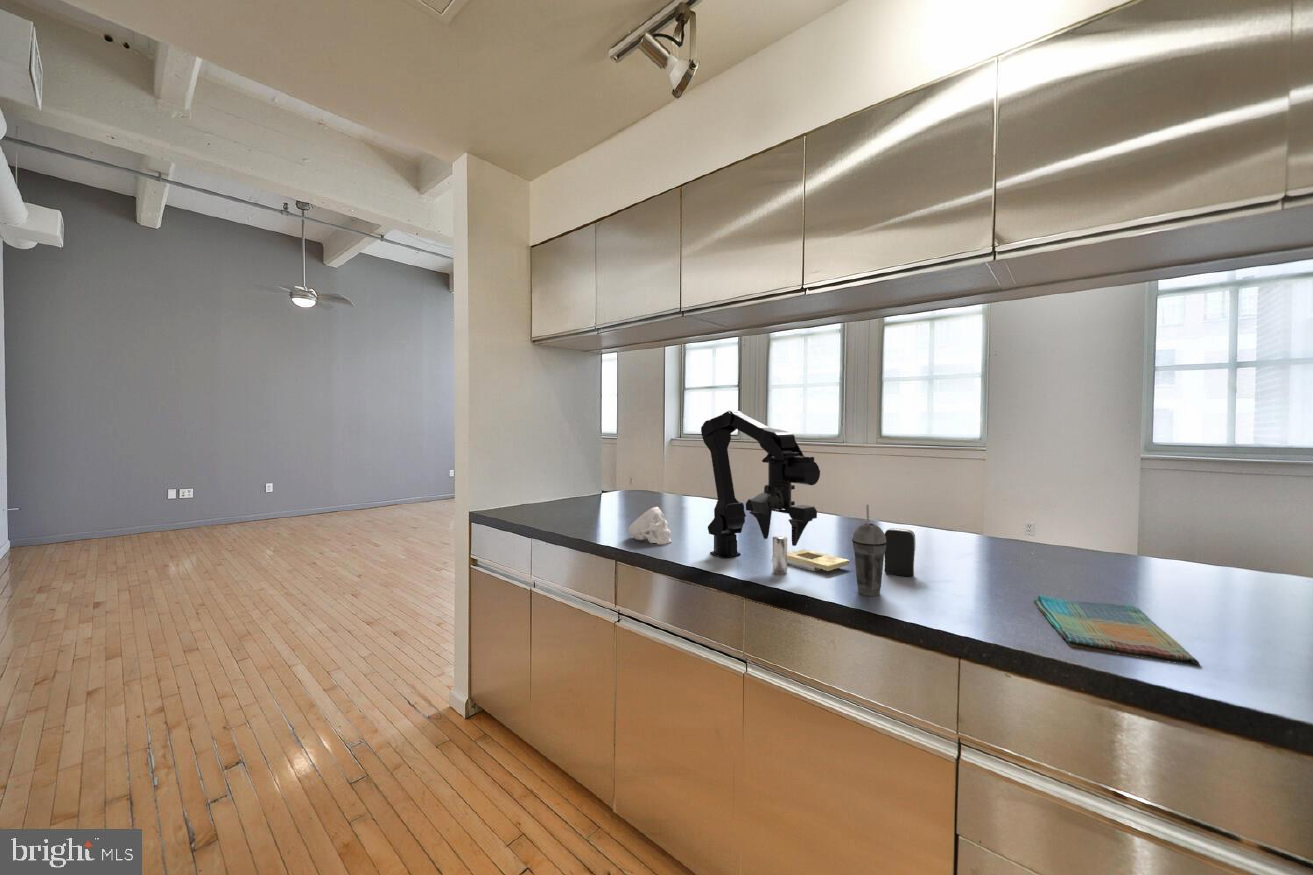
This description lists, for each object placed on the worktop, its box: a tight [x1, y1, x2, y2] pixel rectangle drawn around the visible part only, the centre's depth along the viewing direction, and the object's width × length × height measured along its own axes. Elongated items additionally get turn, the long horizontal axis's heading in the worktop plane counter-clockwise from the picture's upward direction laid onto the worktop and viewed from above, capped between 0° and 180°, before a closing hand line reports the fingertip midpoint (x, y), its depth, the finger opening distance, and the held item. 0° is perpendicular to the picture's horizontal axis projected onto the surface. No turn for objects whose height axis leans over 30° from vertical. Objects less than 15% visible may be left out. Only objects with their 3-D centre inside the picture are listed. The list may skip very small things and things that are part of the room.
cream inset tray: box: [771, 548, 850, 573], centre depth 135 cm, size 18×9×2 cm, turn 36°
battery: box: [883, 527, 916, 578], centre depth 126 cm, size 7×4×11 cm, turn 55°
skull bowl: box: [627, 506, 672, 545], centre depth 163 cm, size 10×14×12 cm
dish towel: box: [1033, 594, 1201, 667], centre depth 92 cm, size 17×23×2 cm
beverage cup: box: [851, 504, 887, 597], centre depth 112 cm, size 7×7×20 cm
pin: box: [772, 535, 788, 576], centre depth 128 cm, size 4×4×9 cm
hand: (779, 542), depth 128 cm, fingers open, 9 cm apart
